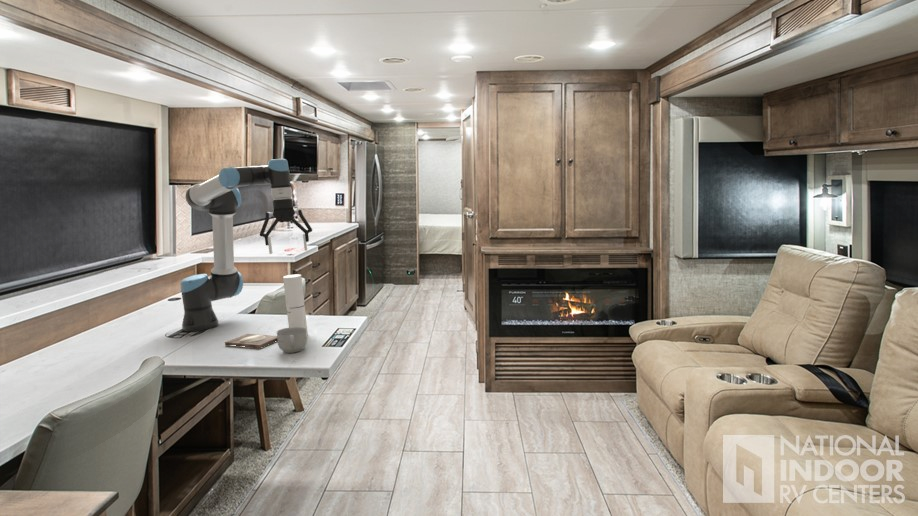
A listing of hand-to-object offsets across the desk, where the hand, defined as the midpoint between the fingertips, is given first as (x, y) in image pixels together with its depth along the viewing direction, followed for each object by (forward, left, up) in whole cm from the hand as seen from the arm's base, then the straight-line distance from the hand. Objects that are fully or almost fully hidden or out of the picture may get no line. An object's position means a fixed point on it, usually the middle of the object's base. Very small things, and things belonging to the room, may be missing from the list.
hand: (288, 251), depth 242 cm
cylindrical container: (0, 0, -35) cm, 35 cm away
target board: (-5, -17, -35) cm, 39 cm away
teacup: (+19, -9, -35) cm, 41 cm away
